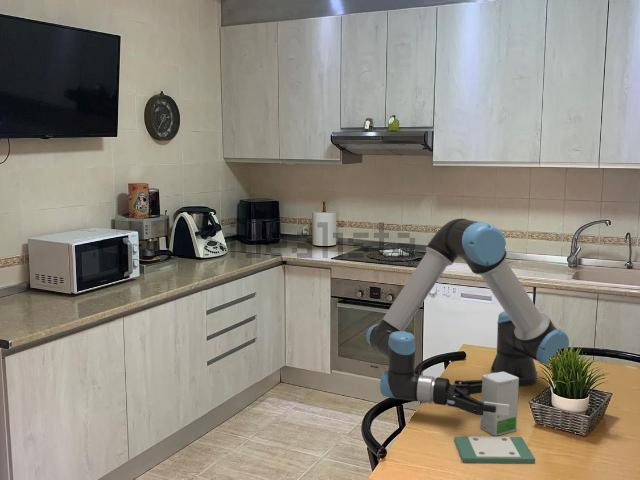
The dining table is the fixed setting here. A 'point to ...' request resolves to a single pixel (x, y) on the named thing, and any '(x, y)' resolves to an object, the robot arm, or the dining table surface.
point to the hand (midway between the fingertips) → (511, 400)
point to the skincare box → (504, 392)
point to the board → (493, 450)
